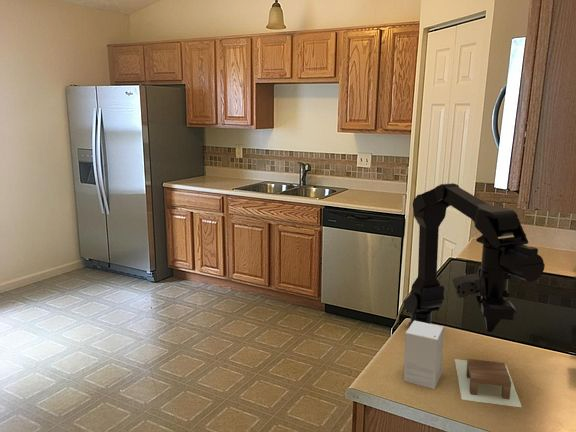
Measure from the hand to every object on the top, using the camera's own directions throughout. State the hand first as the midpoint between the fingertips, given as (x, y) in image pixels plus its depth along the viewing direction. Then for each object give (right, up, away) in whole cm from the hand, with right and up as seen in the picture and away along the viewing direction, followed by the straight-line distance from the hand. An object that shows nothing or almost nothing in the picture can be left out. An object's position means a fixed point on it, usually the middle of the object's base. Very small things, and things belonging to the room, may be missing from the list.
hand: (489, 331), depth 106 cm
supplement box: (-14, -12, +4) cm, 19 cm away
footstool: (0, -9, +3) cm, 10 cm away
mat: (0, -12, +2) cm, 12 cm away
